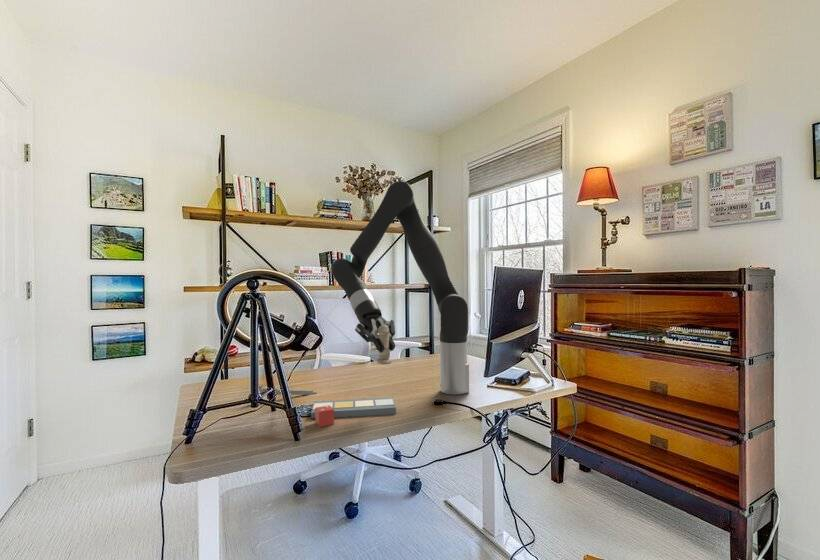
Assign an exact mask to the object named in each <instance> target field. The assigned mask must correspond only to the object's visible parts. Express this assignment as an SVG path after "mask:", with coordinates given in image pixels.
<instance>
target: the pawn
mask: <svg viewBox="0 0 820 560" xmlns="http://www.w3.org/2000/svg"><path fill="white" fill-rule="evenodd" d="M388 333H389V328H388V327H387V326H385V325H382V326H380V327H379V328H378V337H379V338H378V339H380V340H381V342H382V344H383V346H384V348H385V349H384V351H383V352H381V353H380V352H379V351H378V358H376V364H378V365H390V364H392V358H391V357H390V350H389V334H388Z"/></svg>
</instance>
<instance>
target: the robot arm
mask: <svg viewBox="0 0 820 560" xmlns="http://www.w3.org/2000/svg"><path fill="white" fill-rule="evenodd" d="M396 218H397V220H398V221H399V223H400V225H401V227H402V230H403V232H404V233H403V234H404V237H405V239H406V242H407V244H408V246H409V249H410V252H411V254H412V256H413V258H414V260H415V262H416V264H417V266H418V268H419V270H420V272H421V273H422V275H423V277H424V279H425V280H426V282H427V283H428V285H429V288H430V289H431V292H432V294H433V298H434V299H435V302H436V305H437V309H438V311H439V313H440V331H439V372H440V373H439V374H440V375H439V377H440V381H439V383H440V384H439V385H440V389H439V390H440V392H441V393H443V394H444V395H445V394H447V395H453V396H455V395H464V394H467V393H468V394H469V393H470V365H469V363H468V342H467V341H468V332H469V308H468V303H467V301H466V300H465V298H464V297H462V296H460V295H459V293H458V292H457V290H456V288H455V287H454V285H453V283H452V281H451V279H450V277H449V273H448V270H447V266H446V262H445V259H444V256H443V254H442V251H441V249H440V247H439V244H438V243H437V241H436V239H435V237H434V236H433V233H431V231H430V229H429V227H428V226H427V225H426V224H425V222H424V220H423V219H422V217H421V215H420V213H419V210H418V207H417V204H416V201H415V199H414V190H413V188H412V186H411V185H410V184H409V183H408V182H406V181H403V180H398V181H394V182H393V183H391V184H390V185H389V187H387V189H386V192H385V195H384V197H383V198H382V201H381V203H380V204H379V206H378V208H377V210H376V212H375V213H374V214H373V216H372V217H371V219H370V220H369V222H368V223H367V224H366V225H365V227H364V228H363V230H361V233H360V234H359V235H358V237H357V238H356V239H355V240H354V242H353V243H352V245H351V246H350V248H349V251H350V254H351V255H352V259H351V261H349V260H348V259H346V258H337V259H336V260H334V262H333V263H332V266H331V273H332V276H333V278H334V279H335V281H336V282H337V284H338V285H339V286H340V288H342V290H343V291H344V292H345V295H346V296H347V298H348V301H349V302H350V306H351V308H352V311H353V312H354V314H355V316H356V319H357V320H358V322H359V323H357V324H356V327H355V329H354V331H355V332H356V333H357V334H358V335H359V336H360V337H361V338H362V339H363V340H364V341H366V342H367V343H372V344H374V346H375V348H376V350H377V351H378V353H379V352H380V353H381V352H383V351H384V349H385V348H384V346H383V344H382V342H381V340H380V339H378V338H379V337H378V335H379V334H378V328H379V327H380V326H382V325H385V326H387V327H388V328H389V333H388V334H389V352H392V351H394V350H395V348H396V343H395V341H394V339H393V338H394V336H395V335H396V329H395V327H396V326H395V321H394V320H393V319H391V320H386V318H385V317H383V315H382V310H381V308H380V307H379V305H378V303H377V301H376V299H375V298H374V296H373V294H372V293H371V292H370V291H369V288H368V287H367V285H366V284H365V282H364V281H363V279H361V277H362V275H363V273H364V271H365V267H366V266H367V262H368V259H369V258H370V257H371V255H372V253H374V251H375V250H376V249H377V247H378V245H379V244H380V242H381V240H382V239H383V238H384V236H385V233H386V232H387V230H388V228H389V227H390V226H391V224H392V223H393V221H394V220H395V219H396Z"/></svg>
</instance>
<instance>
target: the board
mask: <svg viewBox="0 0 820 560" xmlns="http://www.w3.org/2000/svg"><path fill="white" fill-rule="evenodd" d="M328 405H330V406H331V407H332V408H333V409H334V417H336V418H348V416H352V417H362V416H363V417H365V416H367V417H369V416H381V415H382V416H383V415H397V406H396V403H395V400H394V398H393V396H392V397H391V396H389V397H375V398H373V397H372V398H357V399H356V398H355V399H353V398H352V399H338V400H321V401H313V404H312V408H311V412H310V419H311V418H315V408H316V407H322V406H328Z"/></svg>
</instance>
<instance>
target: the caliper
mask: <svg viewBox="0 0 820 560" xmlns="http://www.w3.org/2000/svg"><path fill="white" fill-rule="evenodd" d="M258 385H259V391H260V393H262V392H265V391H267V388H268V387H264V385H263V384H261V385H260V384H258ZM274 388H275V391H276V397H277V396H278V395H281V392H280V390H281V389H279V388H277V387H274ZM289 390H290V393H291V395H290V396H297V395H298V396H300V395H301V396H310V395H313V394H317V392H316V391H314V390H313V389H289ZM281 396H282V395H281Z"/></svg>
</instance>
